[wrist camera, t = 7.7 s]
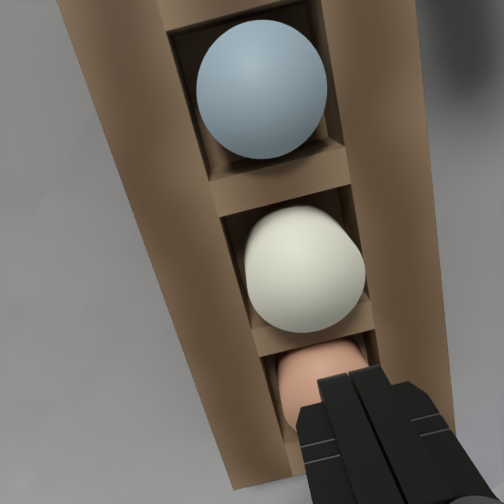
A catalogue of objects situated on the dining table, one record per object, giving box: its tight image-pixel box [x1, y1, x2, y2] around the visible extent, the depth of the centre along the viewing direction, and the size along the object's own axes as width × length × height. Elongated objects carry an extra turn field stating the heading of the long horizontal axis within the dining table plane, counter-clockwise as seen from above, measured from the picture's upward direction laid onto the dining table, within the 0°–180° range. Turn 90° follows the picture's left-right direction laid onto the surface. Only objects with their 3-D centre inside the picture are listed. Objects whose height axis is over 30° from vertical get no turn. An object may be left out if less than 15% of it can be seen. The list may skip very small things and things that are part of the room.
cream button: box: [243, 203, 365, 333], centre depth 19 cm, size 5×5×3 cm
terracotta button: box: [275, 335, 369, 432], centre depth 22 cm, size 5×5×3 cm
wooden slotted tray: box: [56, 0, 456, 490], centre depth 21 cm, size 12×24×4 cm, turn 14°
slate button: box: [196, 20, 327, 159], centre depth 17 cm, size 5×5×3 cm
